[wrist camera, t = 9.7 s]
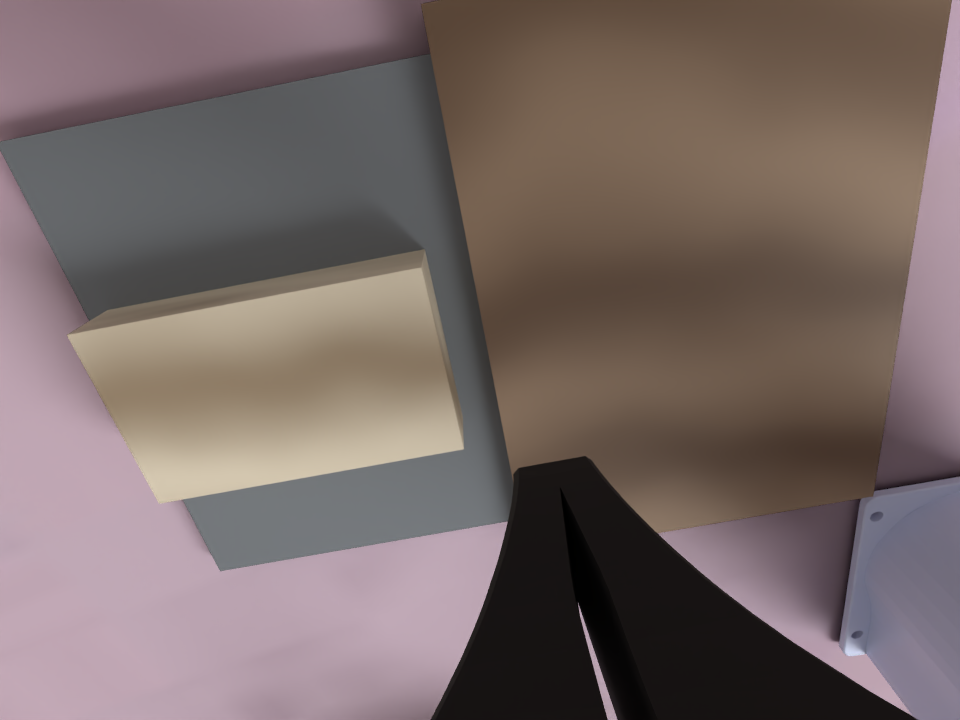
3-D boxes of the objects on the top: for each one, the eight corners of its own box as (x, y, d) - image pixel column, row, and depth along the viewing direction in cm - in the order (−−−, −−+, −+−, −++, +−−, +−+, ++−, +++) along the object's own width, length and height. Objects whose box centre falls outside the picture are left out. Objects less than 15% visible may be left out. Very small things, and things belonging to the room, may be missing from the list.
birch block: (462, 416, 19) (463, 449, 18) (186, 466, 20) (159, 503, 18) (424, 249, 17) (421, 267, 15) (107, 310, 17) (66, 334, 15)
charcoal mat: (518, 508, 22) (520, 519, 21) (225, 559, 22) (220, 571, 22) (431, 54, 15) (430, 53, 15) (11, 140, 16) (-4, 142, 15)
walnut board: (847, 471, 22) (873, 496, 21) (522, 527, 22) (527, 555, 21) (920, -90, 14) (969, -111, 13) (423, 12, 15) (420, 4, 13)
